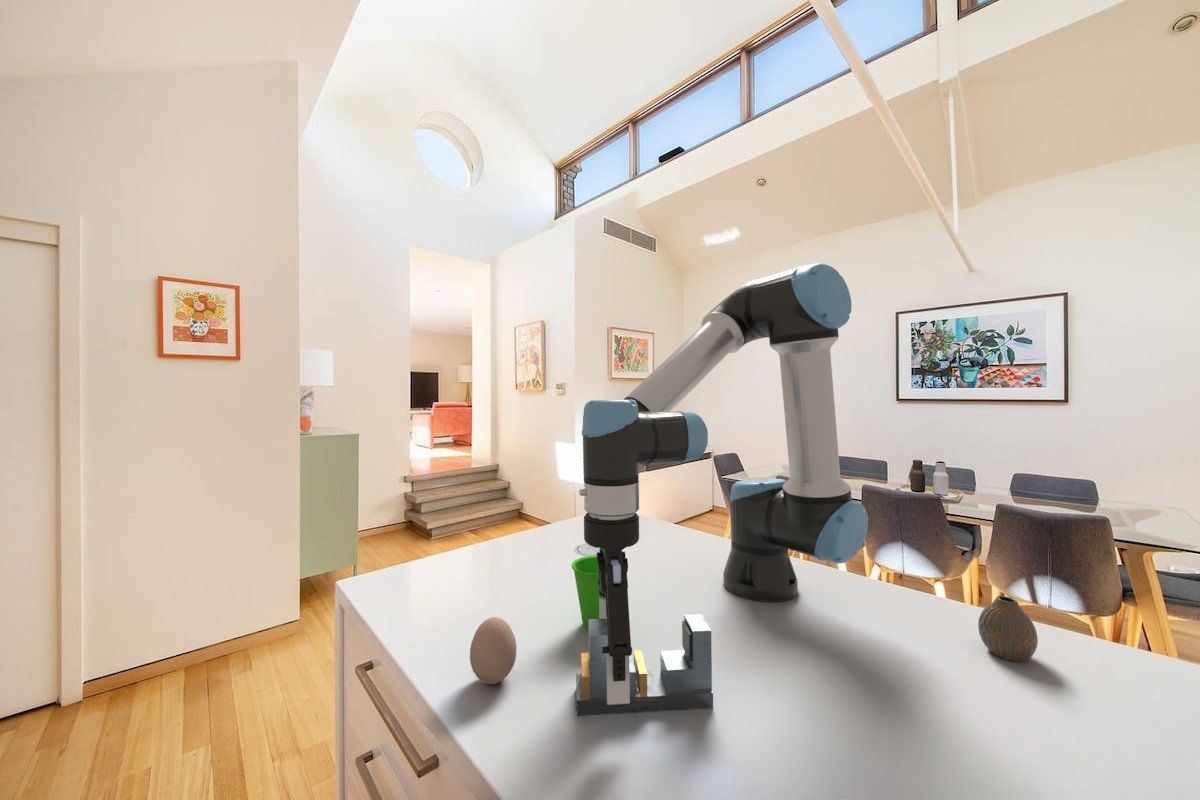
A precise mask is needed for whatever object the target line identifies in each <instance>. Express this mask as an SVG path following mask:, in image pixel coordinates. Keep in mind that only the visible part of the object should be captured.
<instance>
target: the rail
mask: <svg viewBox="0 0 1200 800" xmlns="http://www.w3.org/2000/svg"><path fill="white" fill-rule="evenodd" d="M683 617H684V618H683V619H684V620H681V630H682V631H681V633H682V634H681V635H682V636H681V638H682V639H681V640H682V641H681V642H682V647H683V649H677V650H660V653H659V654H660V658H659V659H660V669H655V670H647V669H646V668H647V667H646V665H645V664H646V663H645V661H644V657H643V654H642V650H641V649H637V650H635V649H634V650H633V662H634V666H635V671H636V695H630V704H612V705H607V696H604V697H591V696H590V670H589V652H581V654H580V657H581V658H580V660H581V662H580V663H581V664H580V665H581V670H580V671H581V672H580V673H579V674H578V673H577V674H576V675H575V684H576V685H575V686H576V687H575V689H576V690H575V691H576V716H577V717H579V716H581V717H583V716H596V715H598V716H600V715H614V714H633V713H635V714H636V713H650V712H651V713H652V712H667V711H668V712H669V711H685V710H704V709H714V692H713V685H712V684H713V672H712V671H713V669H712V668H713V666H712V663H713V662H712V661H713V659H712V658H713V657H712V656H713V655H712V653H713V651H712V629H711V628H710V626H709V624H708V623H707V620H705V619H706V618H705V617H704V616H703V615H702V614H699V613H698V614H697V613H696V614H684V615H683Z"/></svg>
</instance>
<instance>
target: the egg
mask: <svg viewBox="0 0 1200 800" xmlns="http://www.w3.org/2000/svg"><path fill="white" fill-rule="evenodd" d="M516 659H517V642H516V637H515V633H514V631H513V630H512V628H511V626H510V625H509V624H508V622H507V621H505V619H503V618H501V617H499V616H498V617H497V616H492V617H489V618H487V619H485V620H484V621H482V622H481V624H480V625H479V626H478V627H477V629H476V631H475V633H474V635H473V637H472V640H471V643H470V649H469V661H470V667H471V669H472V673H474V675H475V676H476V677H477V679H479V680H480V682H483V683H485V684H487V685H494V684H498V683H500V682H502V681H503V680H505V679H506V678H507V677H508V676H509V674H510V672H511V671H512V669H513V668H514V666H515V662H516Z"/></svg>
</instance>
